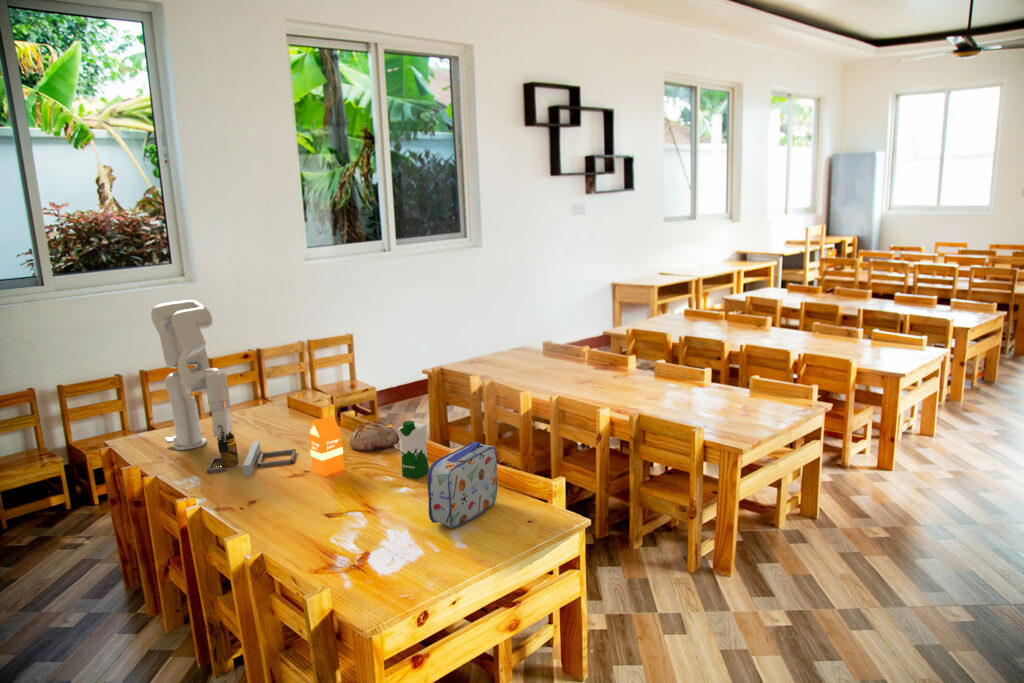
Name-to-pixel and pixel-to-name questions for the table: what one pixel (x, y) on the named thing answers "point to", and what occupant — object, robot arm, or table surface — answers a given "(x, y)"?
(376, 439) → the bread
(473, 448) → the lunch box
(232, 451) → the condiment
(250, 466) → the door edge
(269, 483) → the table surface
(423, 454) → the milk carton
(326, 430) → the orange juice
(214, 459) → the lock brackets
